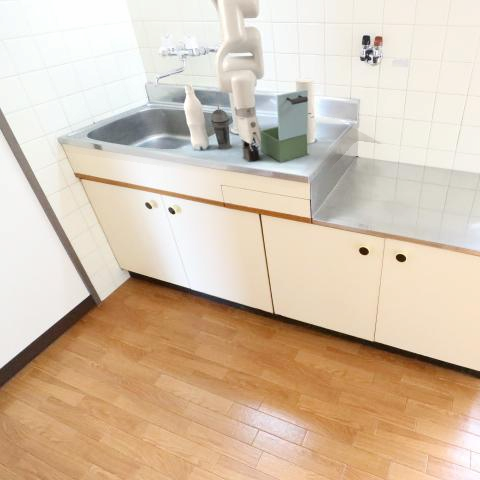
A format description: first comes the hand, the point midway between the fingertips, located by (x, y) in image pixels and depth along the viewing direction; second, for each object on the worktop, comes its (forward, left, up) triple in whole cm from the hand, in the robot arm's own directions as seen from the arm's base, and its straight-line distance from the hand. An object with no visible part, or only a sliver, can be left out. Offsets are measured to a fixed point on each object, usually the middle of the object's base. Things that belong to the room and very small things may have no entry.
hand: (251, 157), depth 148 cm
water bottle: (-21, -15, -1) cm, 26 cm away
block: (0, 0, 0) cm, 0 cm away
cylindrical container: (-7, +28, -1) cm, 29 cm away
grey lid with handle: (+9, +15, +17) cm, 24 cm away
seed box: (+1, +14, 0) cm, 14 cm away
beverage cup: (-17, -6, -1) cm, 19 cm away
